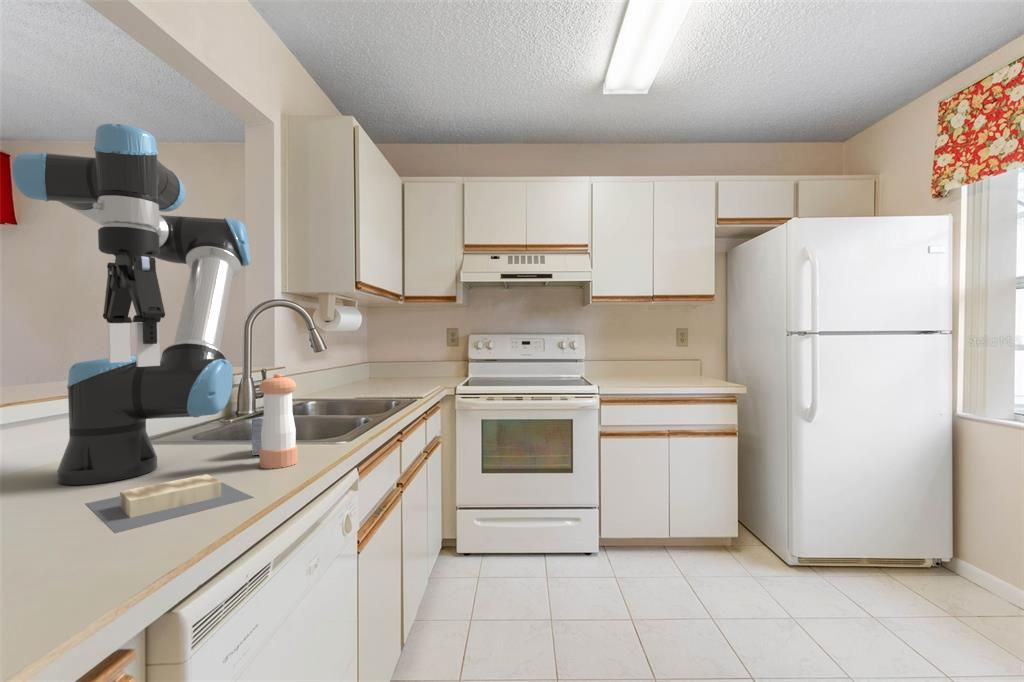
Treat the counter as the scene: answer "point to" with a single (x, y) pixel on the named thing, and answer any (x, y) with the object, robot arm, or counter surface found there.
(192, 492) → the birch block
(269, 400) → the salt shaker
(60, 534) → the counter surface
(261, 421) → the medicine box
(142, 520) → the mat
